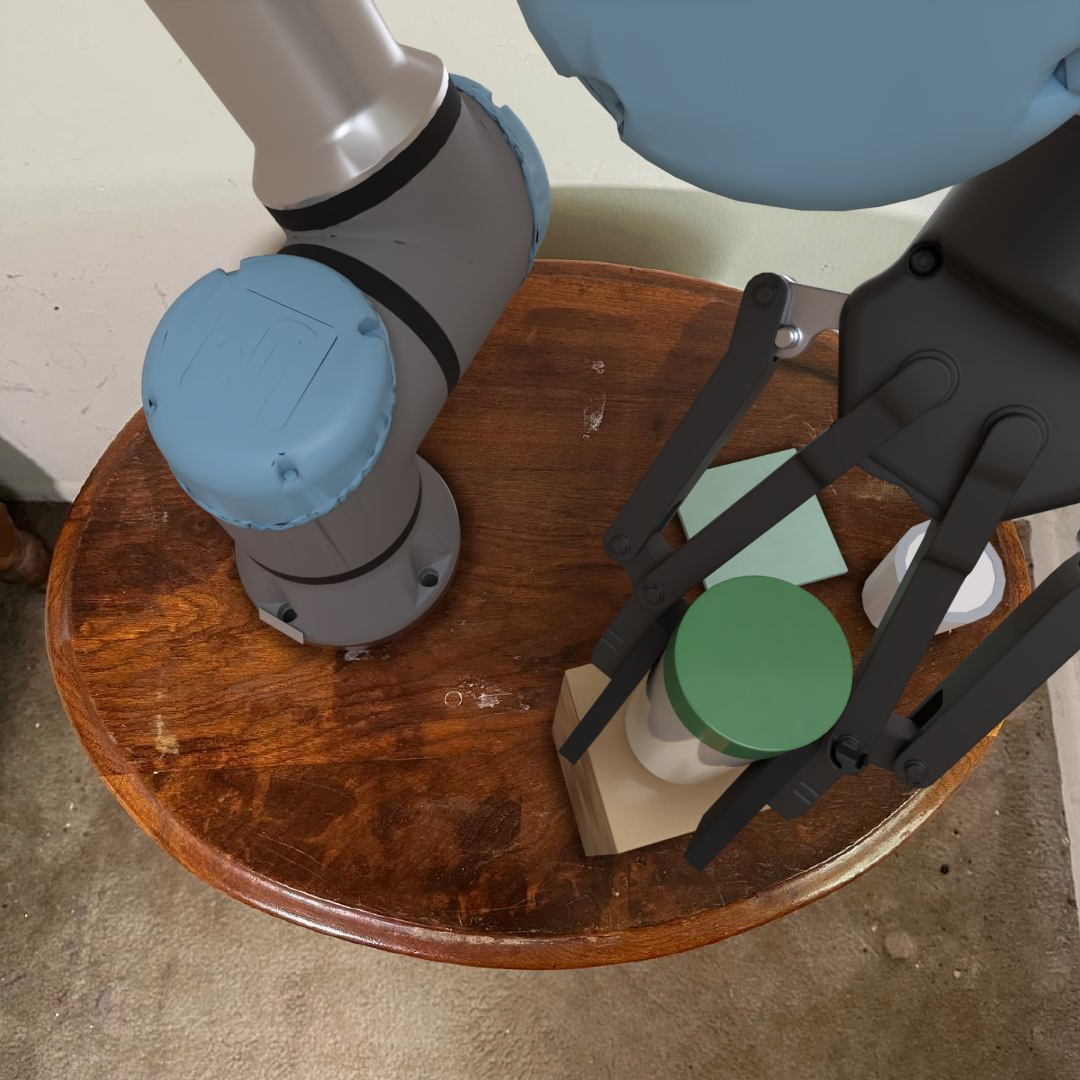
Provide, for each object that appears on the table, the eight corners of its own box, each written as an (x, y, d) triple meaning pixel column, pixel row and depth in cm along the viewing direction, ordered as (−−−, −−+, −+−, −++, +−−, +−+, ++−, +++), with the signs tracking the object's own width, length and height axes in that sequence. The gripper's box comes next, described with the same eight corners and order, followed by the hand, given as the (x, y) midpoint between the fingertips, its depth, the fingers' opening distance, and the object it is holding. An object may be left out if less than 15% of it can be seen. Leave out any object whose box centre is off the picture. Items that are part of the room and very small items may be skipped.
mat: (666, 482, 60) (667, 478, 60) (792, 451, 62) (795, 447, 61) (712, 609, 57) (714, 606, 56) (845, 573, 58) (848, 570, 58)
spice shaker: (607, 682, 35) (651, 598, 24) (718, 652, 35) (813, 556, 24) (644, 802, 33) (709, 773, 22) (760, 768, 34) (882, 723, 22)
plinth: (551, 729, 54) (564, 670, 37) (666, 697, 55) (731, 625, 38) (585, 856, 51) (617, 853, 34) (707, 820, 52) (796, 800, 35)
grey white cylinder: (950, 659, 56) (1007, 633, 50) (849, 639, 56) (892, 610, 50) (952, 566, 58) (1006, 529, 52) (855, 547, 59) (897, 508, 52)
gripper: (1458, 375, 21) (859, 897, 31) (854, 38, 24) (501, 605, 35) (1691, 408, 14) (835, 1053, 25) (819, -58, 18) (398, 674, 28)
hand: (640, 790), depth 30 cm, fingers closed on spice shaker, 5 cm apart
